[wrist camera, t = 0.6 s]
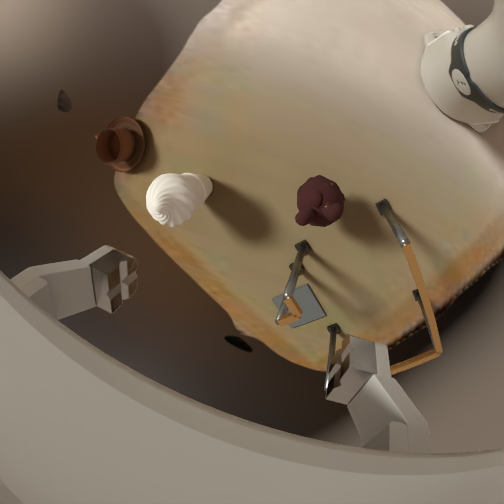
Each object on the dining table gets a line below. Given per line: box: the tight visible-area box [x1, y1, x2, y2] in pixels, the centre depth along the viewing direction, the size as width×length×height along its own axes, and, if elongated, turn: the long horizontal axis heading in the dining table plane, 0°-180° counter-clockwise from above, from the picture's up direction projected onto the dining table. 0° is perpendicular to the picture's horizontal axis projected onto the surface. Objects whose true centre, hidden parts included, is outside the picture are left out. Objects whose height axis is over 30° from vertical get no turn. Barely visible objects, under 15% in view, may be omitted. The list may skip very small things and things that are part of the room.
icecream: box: [295, 175, 345, 227], centre depth 37 cm, size 7×7×15 cm
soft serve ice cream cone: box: [146, 173, 213, 227], centre depth 43 cm, size 8×8×16 cm
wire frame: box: [275, 199, 443, 391], centre depth 41 cm, size 21×21×17 cm
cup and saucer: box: [95, 116, 145, 172], centre depth 48 cm, size 12×12×6 cm
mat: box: [272, 284, 326, 328], centre depth 54 cm, size 8×8×1 cm
